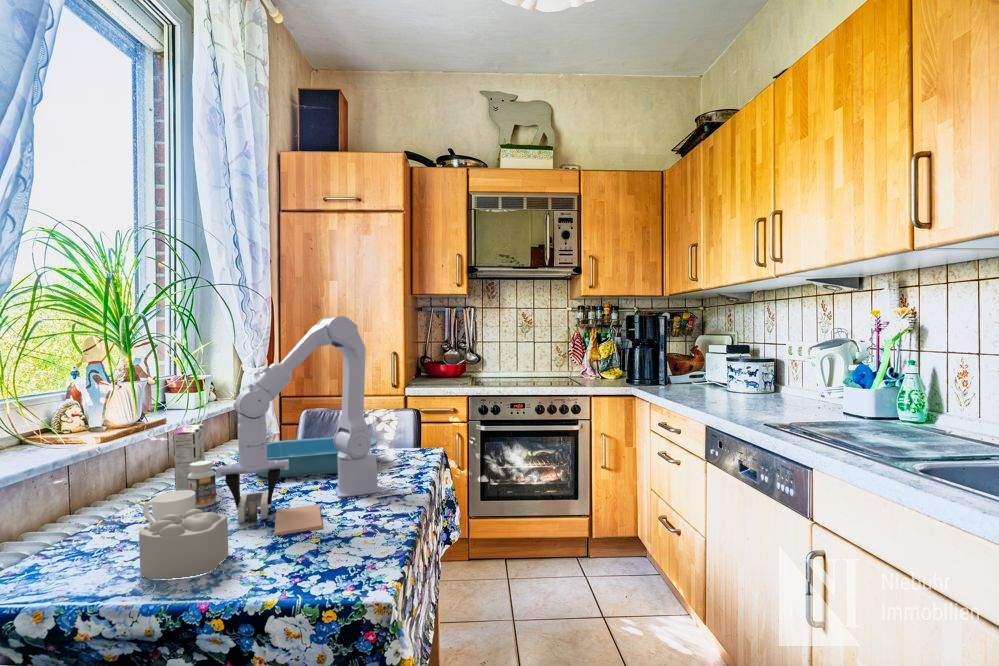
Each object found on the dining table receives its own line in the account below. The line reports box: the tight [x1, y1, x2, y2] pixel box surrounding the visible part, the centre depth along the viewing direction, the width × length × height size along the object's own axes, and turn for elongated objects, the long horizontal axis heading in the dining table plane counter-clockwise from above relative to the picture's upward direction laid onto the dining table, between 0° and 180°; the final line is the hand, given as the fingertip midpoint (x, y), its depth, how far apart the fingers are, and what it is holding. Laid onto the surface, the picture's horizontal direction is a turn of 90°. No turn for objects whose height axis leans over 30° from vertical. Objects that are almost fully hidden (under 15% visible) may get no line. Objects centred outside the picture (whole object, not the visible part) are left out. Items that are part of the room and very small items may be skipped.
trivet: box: [273, 503, 323, 537], centre depth 110 cm, size 9×14×1 cm, turn 22°
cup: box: [142, 490, 196, 523], centre depth 107 cm, size 8×10×7 cm
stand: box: [247, 501, 259, 524], centre depth 109 cm, size 2×2×4 cm
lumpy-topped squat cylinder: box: [138, 508, 229, 580], centre depth 89 cm, size 10×13×9 cm
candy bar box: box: [172, 423, 206, 491], centre depth 131 cm, size 11×5×16 cm, turn 20°
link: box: [237, 489, 270, 524], centre depth 113 cm, size 6×10×3 cm, turn 22°
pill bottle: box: [187, 460, 217, 509], centre depth 121 cm, size 6×6×10 cm
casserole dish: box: [256, 436, 378, 479], centre depth 152 cm, size 37×22×7 cm, turn 102°
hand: (254, 505), depth 114 cm, fingers closed on link, 6 cm apart
